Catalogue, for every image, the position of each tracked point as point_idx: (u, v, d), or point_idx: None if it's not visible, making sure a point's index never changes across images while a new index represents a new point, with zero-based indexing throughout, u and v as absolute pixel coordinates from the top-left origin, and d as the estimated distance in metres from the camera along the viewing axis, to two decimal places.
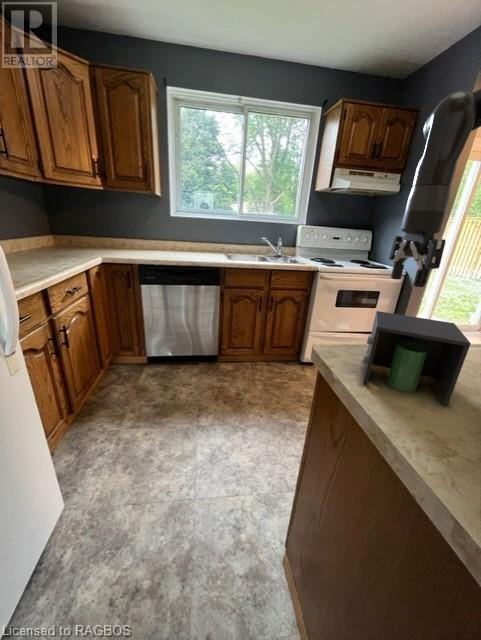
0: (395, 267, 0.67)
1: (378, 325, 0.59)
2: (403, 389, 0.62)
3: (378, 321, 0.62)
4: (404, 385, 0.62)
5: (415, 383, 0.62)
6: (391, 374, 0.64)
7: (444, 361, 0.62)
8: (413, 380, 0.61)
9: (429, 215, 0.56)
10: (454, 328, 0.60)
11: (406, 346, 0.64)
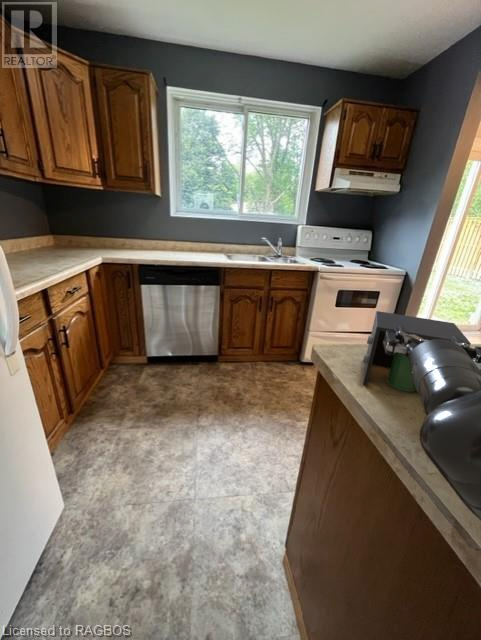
0: None
1: (378, 325, 0.59)
2: (403, 389, 0.62)
3: (378, 321, 0.62)
4: (404, 385, 0.62)
5: None
6: (391, 374, 0.64)
7: None
8: None
9: None
10: (454, 328, 0.60)
11: None
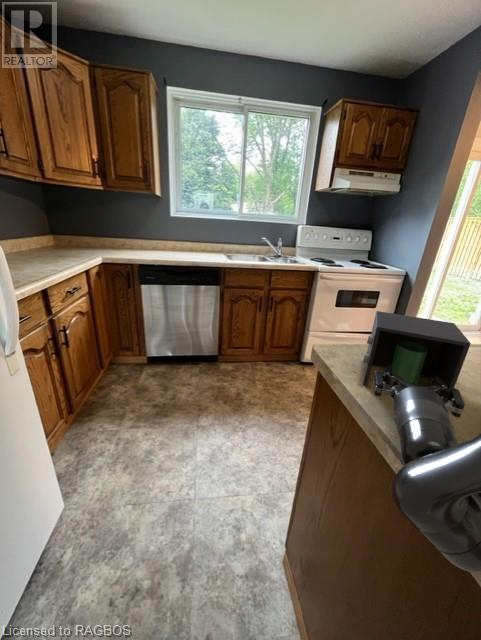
0: None
1: (378, 325, 0.59)
2: None
3: (378, 321, 0.62)
4: None
5: (415, 383, 0.62)
6: None
7: (444, 361, 0.62)
8: (413, 380, 0.61)
9: None
10: (454, 328, 0.60)
11: (406, 346, 0.64)
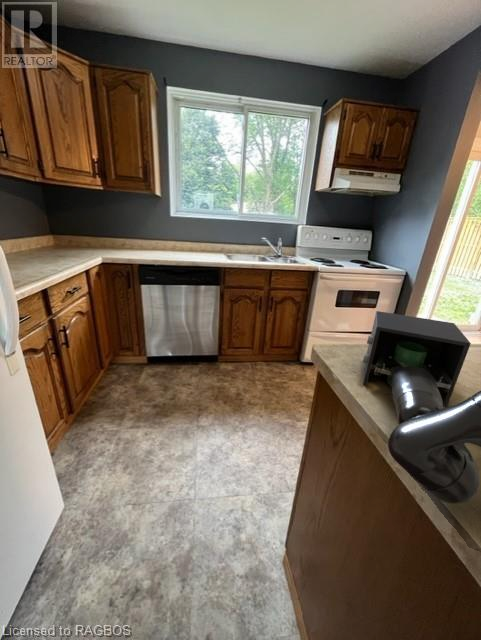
0: None
1: (378, 325, 0.59)
2: None
3: (378, 321, 0.62)
4: None
5: None
6: None
7: (444, 361, 0.62)
8: None
9: None
10: (454, 328, 0.60)
11: (406, 346, 0.64)
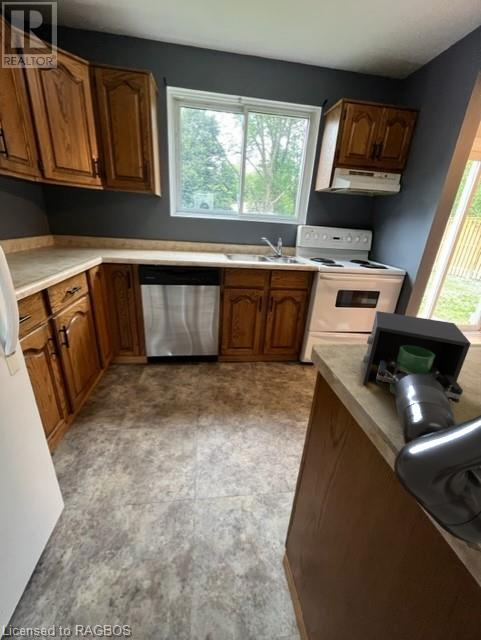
0: None
1: (378, 325, 0.59)
2: None
3: (378, 321, 0.62)
4: None
5: None
6: None
7: (444, 361, 0.62)
8: None
9: None
10: (454, 328, 0.60)
11: (410, 351, 0.59)
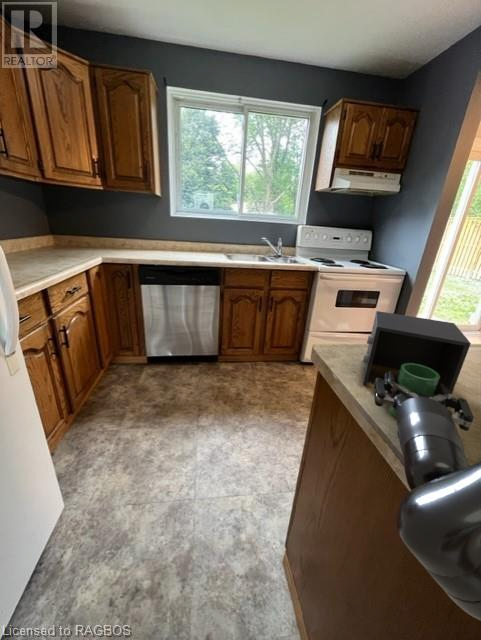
0: None
1: (378, 325, 0.59)
2: None
3: (378, 321, 0.62)
4: None
5: None
6: None
7: (444, 361, 0.62)
8: None
9: None
10: (454, 328, 0.60)
11: (412, 370, 0.54)
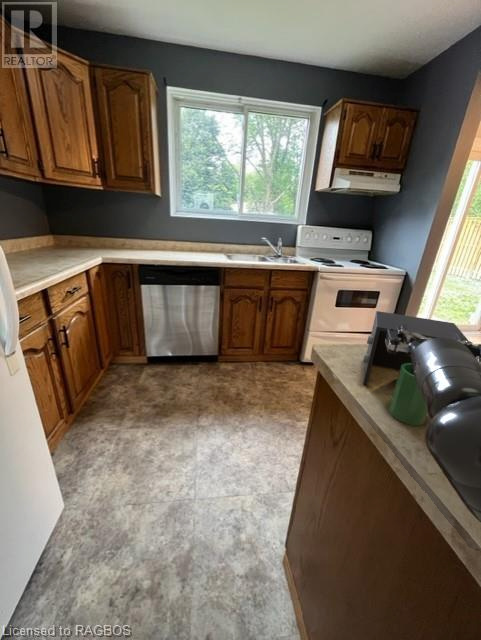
0: None
1: (378, 325, 0.59)
2: (409, 422, 0.52)
3: (378, 321, 0.62)
4: (410, 418, 0.51)
5: (424, 415, 0.51)
6: (394, 403, 0.53)
7: None
8: (421, 412, 0.50)
9: None
10: (454, 328, 0.60)
11: (412, 370, 0.54)
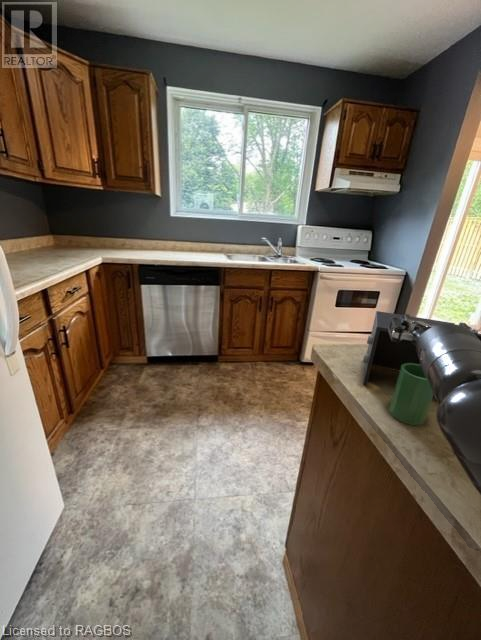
0: None
1: (378, 325, 0.59)
2: (409, 422, 0.52)
3: (378, 321, 0.62)
4: (410, 418, 0.51)
5: (424, 415, 0.51)
6: (394, 403, 0.53)
7: None
8: (421, 412, 0.50)
9: None
10: None
11: (412, 370, 0.54)
